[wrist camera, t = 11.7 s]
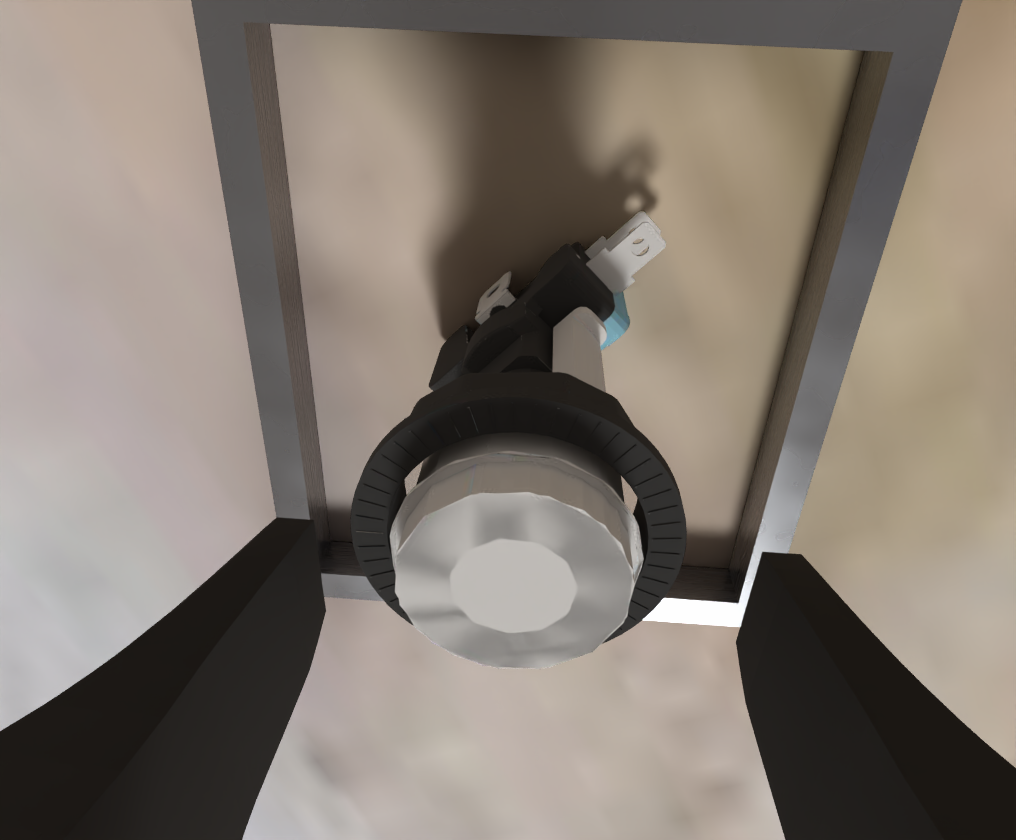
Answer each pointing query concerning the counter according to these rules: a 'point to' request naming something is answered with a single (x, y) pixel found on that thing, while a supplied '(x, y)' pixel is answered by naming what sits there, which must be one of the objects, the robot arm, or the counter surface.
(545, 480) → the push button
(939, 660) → the counter surface
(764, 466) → the frame
